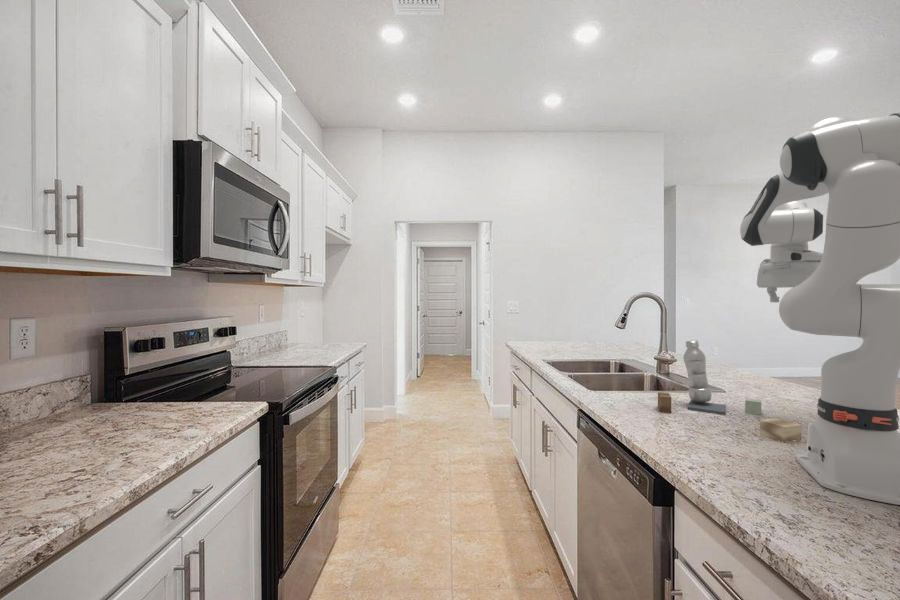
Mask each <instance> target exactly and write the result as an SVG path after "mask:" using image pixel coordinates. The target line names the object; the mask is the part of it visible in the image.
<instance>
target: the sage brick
mask: <svg viewBox="0 0 900 600" xmlns="http://www.w3.org/2000/svg"><path fill="white" fill-rule="evenodd" d="M744 401H745V402H744V403H745V404H744V413H745V414H748V413H751V414H750V415H755V414H759V415H758V416H762V399H758V398H749V397H745V398H744Z"/></svg>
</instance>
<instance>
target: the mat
mask: <svg viewBox="0 0 900 600" xmlns="http://www.w3.org/2000/svg"><path fill="white" fill-rule="evenodd" d="M687 410H689V411H697V412H702V413H703V412H704V413H710V414H711V413H712V414H718V415H724V416H726V412H727V411H726V410H727V404H722V403H714V402H709V401H708V402H704V403H699V402H693V401H692V400H691V399H690V401H689V402H688V405H687Z"/></svg>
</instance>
